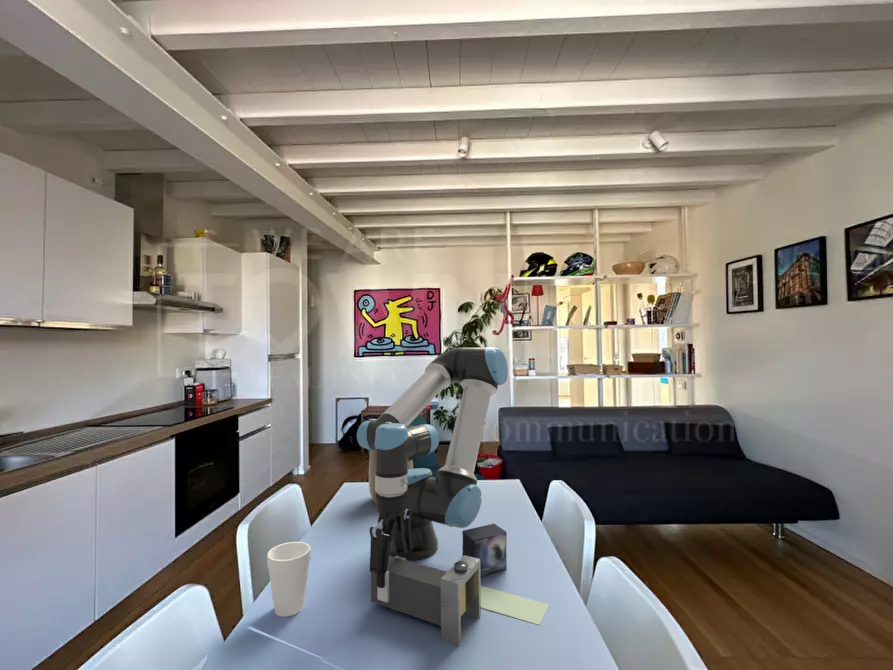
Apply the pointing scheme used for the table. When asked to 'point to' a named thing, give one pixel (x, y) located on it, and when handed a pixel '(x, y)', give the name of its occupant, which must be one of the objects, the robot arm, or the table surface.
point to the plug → (414, 590)
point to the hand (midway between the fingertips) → (392, 592)
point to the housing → (459, 597)
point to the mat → (513, 605)
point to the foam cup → (289, 576)
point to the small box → (486, 548)
